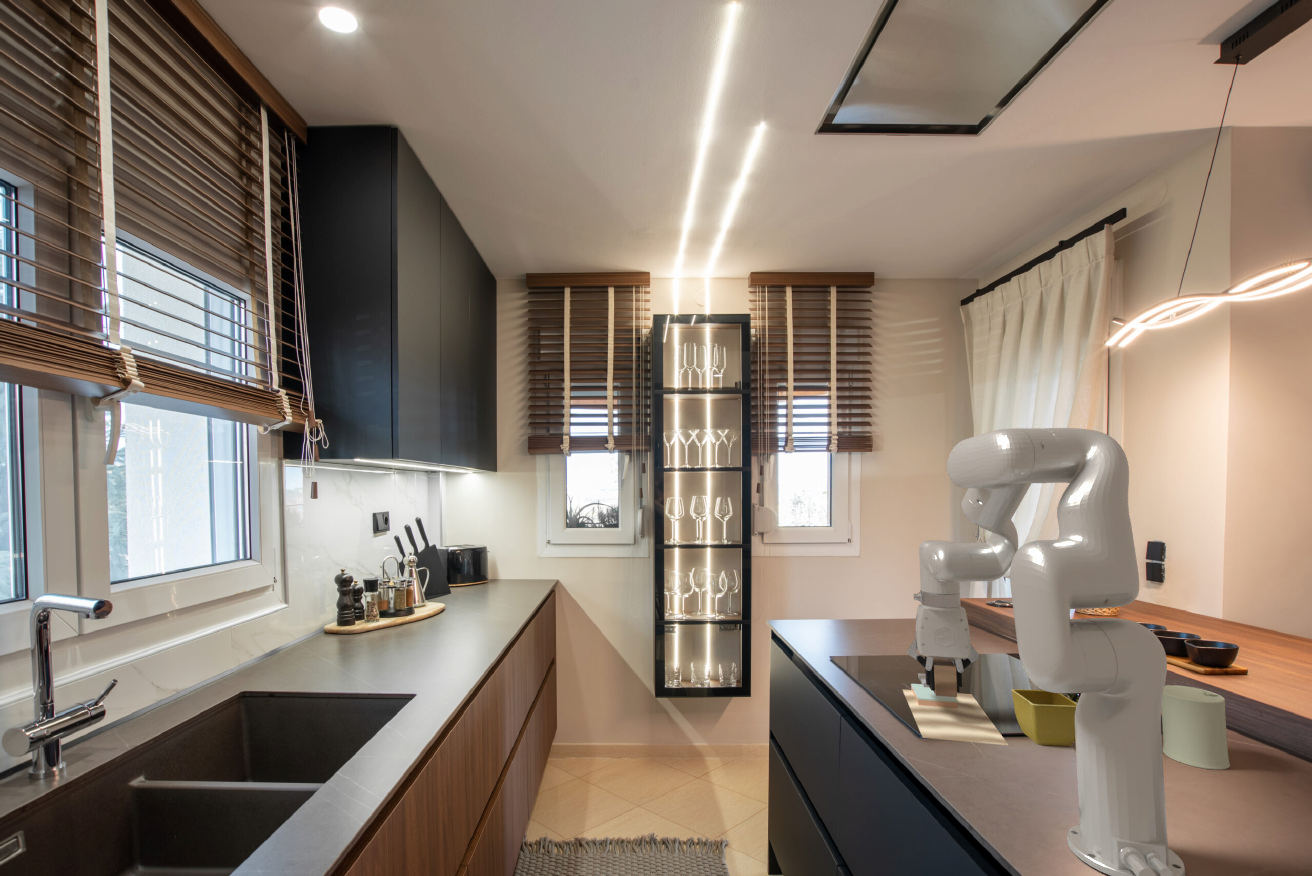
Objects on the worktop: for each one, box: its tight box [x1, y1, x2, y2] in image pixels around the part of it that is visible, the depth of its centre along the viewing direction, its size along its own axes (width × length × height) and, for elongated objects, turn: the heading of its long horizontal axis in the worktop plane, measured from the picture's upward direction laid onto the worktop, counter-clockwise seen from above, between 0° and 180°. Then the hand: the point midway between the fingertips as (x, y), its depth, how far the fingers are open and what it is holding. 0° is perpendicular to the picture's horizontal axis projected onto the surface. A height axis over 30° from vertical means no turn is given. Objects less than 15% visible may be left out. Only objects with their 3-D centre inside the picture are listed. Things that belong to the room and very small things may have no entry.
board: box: [901, 688, 1009, 746], centre depth 130 cm, size 28×15×1 cm, turn 166°
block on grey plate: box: [917, 658, 961, 697], centre depth 131 cm, size 12×7×6 cm, turn 166°
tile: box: [910, 683, 958, 708], centre depth 139 cm, size 2×8×10 cm
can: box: [1161, 684, 1231, 771], centre depth 112 cm, size 9×9×12 cm
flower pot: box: [1011, 688, 1078, 747], centre depth 118 cm, size 9×9×9 cm
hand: (943, 688), depth 128 cm, fingers closed on block on grey plate, 4 cm apart
